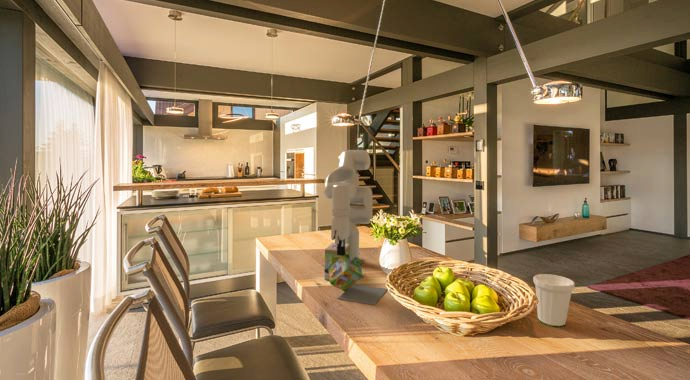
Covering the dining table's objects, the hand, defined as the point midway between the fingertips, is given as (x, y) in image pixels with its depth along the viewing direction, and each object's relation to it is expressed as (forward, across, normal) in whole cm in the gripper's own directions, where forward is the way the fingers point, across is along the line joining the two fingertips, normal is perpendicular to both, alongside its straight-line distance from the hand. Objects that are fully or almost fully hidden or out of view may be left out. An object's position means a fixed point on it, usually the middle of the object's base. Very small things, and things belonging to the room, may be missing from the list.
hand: (341, 254), depth 152 cm
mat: (+16, 0, +10) cm, 19 cm away
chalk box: (+12, 0, -2) cm, 12 cm away
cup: (+16, -2, +80) cm, 82 cm away
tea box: (+16, -18, -10) cm, 26 cm away
